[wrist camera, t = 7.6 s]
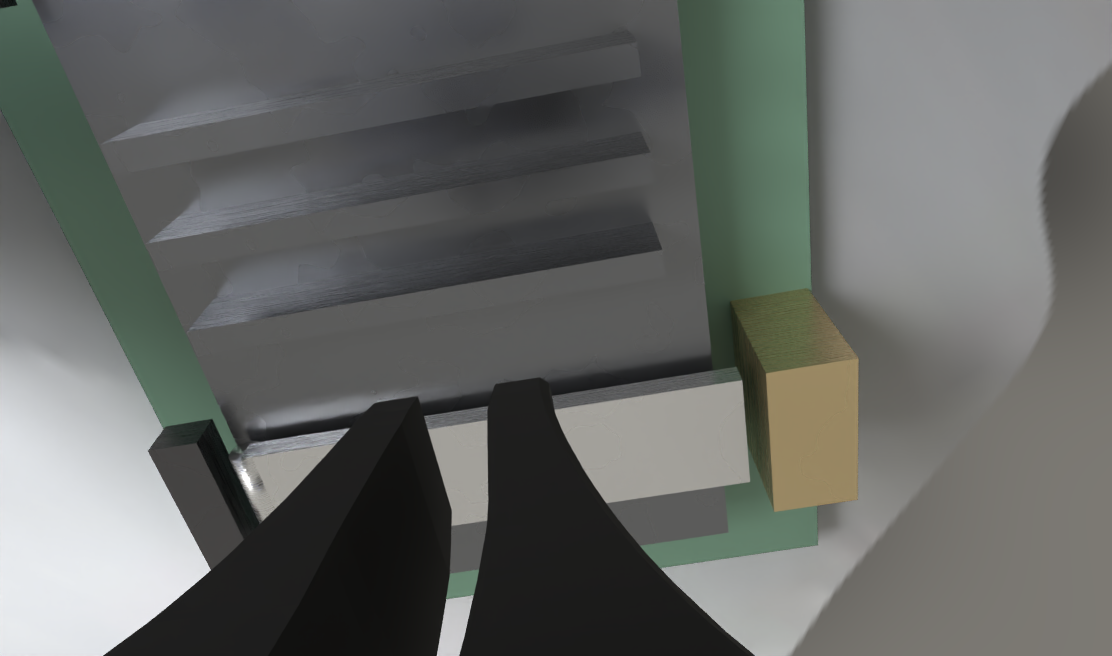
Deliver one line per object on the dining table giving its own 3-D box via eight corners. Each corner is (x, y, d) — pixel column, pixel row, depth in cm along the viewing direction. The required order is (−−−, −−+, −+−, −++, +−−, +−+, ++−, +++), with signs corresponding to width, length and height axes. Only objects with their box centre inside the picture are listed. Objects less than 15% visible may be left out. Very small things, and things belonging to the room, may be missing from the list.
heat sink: (276, 551, 24) (235, 649, 21) (-155, -369, 14) (-368, -457, 10) (812, 470, 23) (857, 560, 20) (782, -596, 12) (865, -771, 9)
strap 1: (277, 533, 21) (267, 555, 20) (235, 444, 19) (223, 463, 18) (743, 464, 20) (751, 484, 19) (735, 364, 18) (743, 382, 18)
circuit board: (273, 601, 26) (264, 625, 25) (-297, -557, 13) (-356, -590, 12) (808, 522, 25) (817, 544, 24) (763, -836, 12) (781, -895, 11)
